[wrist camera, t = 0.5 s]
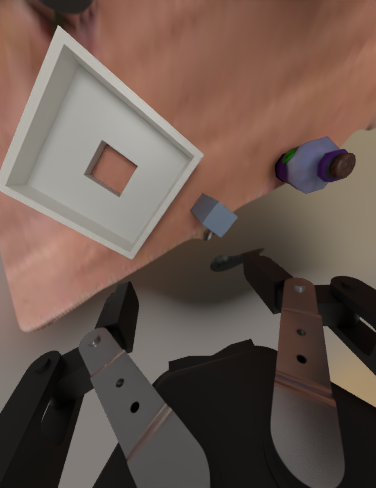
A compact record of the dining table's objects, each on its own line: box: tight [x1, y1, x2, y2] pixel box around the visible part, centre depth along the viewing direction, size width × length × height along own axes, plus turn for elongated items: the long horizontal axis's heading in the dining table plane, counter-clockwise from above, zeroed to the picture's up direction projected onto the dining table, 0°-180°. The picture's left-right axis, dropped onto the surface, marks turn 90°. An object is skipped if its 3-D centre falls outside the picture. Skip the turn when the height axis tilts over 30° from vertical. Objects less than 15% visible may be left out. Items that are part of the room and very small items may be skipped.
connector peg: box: [191, 193, 238, 238], centre depth 31 cm, size 4×4×10 cm
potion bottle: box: [275, 136, 356, 194], centre depth 29 cm, size 9×9×12 cm
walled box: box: [0, 25, 204, 260], centre depth 27 cm, size 20×20×7 cm
